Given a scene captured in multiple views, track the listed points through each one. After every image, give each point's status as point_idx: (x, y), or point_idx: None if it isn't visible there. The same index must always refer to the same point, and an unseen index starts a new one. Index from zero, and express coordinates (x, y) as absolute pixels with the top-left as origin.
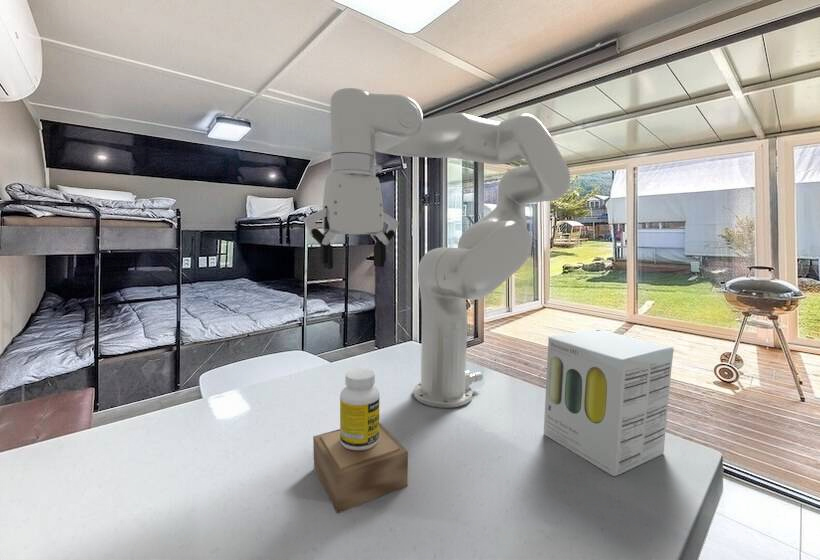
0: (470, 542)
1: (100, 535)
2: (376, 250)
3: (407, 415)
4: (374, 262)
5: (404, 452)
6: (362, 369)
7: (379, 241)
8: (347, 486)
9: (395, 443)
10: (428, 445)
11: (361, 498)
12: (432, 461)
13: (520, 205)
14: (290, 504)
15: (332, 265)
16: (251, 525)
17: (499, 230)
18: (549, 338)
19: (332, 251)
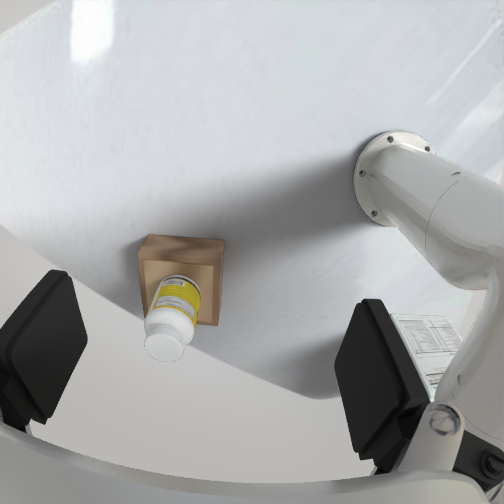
0: (226, 357)
1: (15, 222)
2: (370, 398)
3: (310, 194)
4: (360, 319)
5: (213, 325)
6: (171, 340)
7: (382, 462)
8: None
9: (214, 310)
10: (282, 267)
11: None
12: (264, 290)
13: None
14: (121, 267)
15: (82, 349)
16: (94, 270)
17: None
18: (429, 398)
19: (58, 398)
